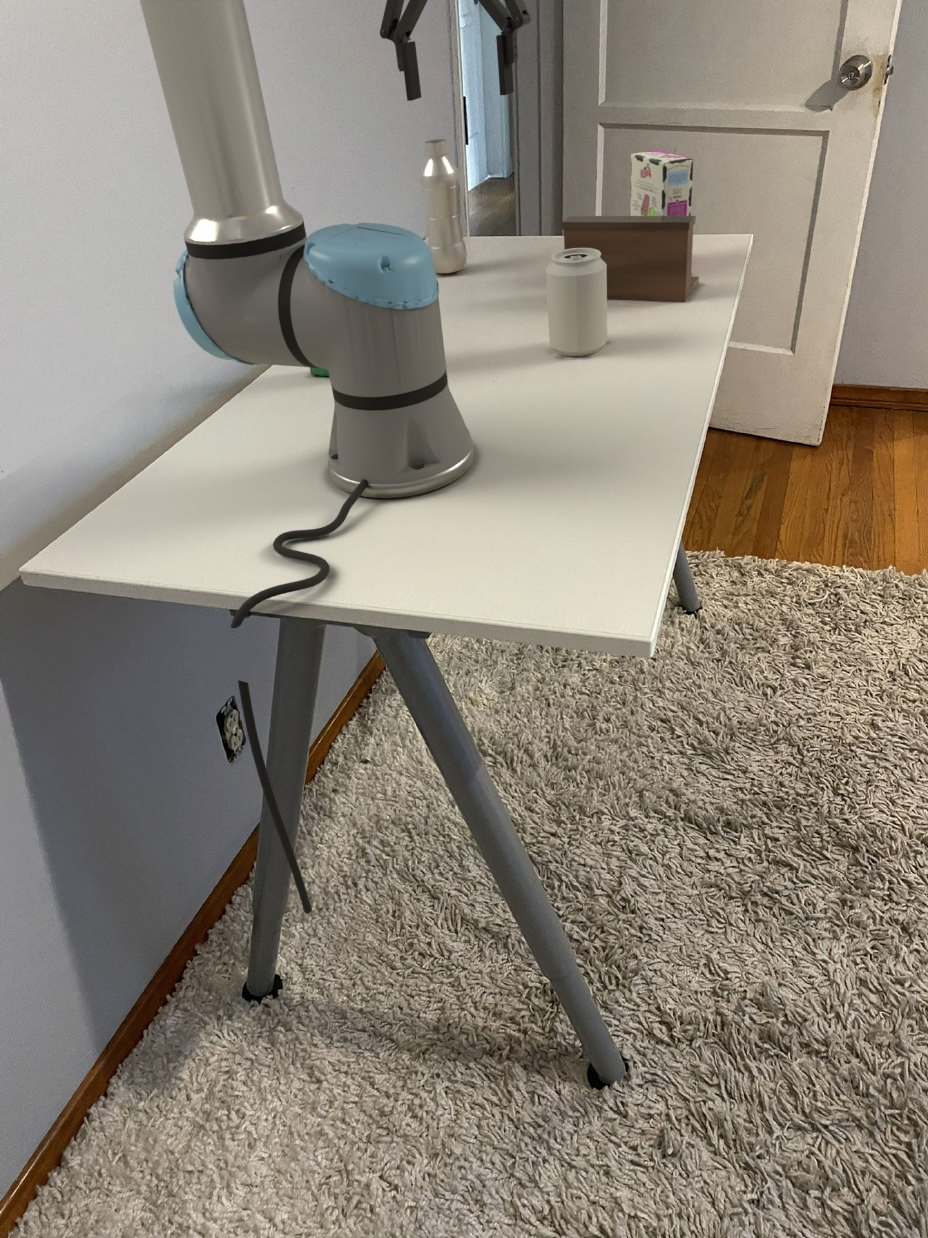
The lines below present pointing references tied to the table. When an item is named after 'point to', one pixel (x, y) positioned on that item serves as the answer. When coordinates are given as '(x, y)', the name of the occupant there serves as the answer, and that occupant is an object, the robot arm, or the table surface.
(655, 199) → the candy bar box
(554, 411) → the table surface
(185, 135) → the robot arm
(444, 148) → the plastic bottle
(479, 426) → the table surface
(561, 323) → the can
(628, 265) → the wooden box
